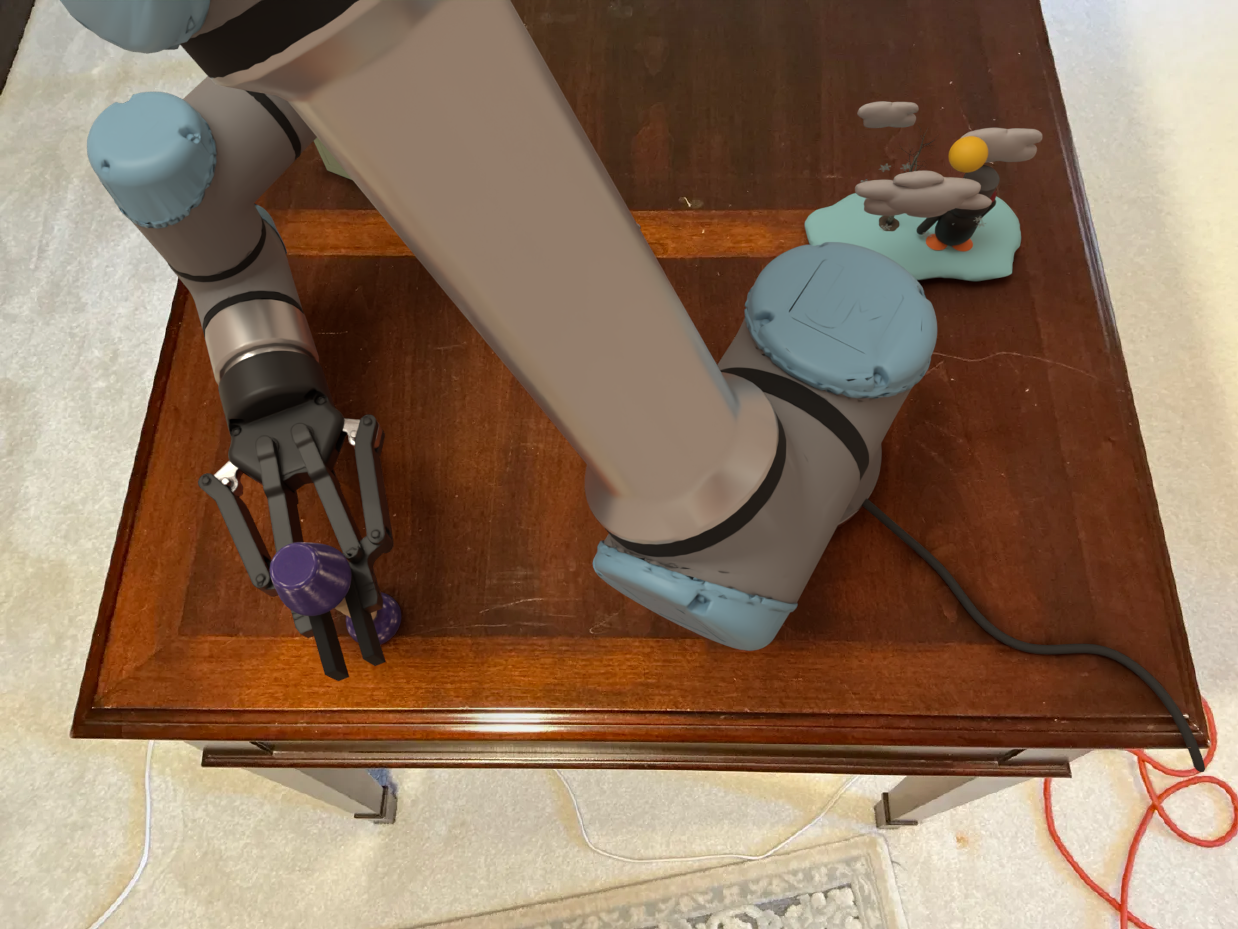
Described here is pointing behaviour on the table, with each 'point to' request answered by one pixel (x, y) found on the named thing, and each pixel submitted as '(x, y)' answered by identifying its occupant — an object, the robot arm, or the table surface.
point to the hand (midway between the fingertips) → (356, 667)
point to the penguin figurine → (933, 206)
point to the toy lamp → (324, 586)
